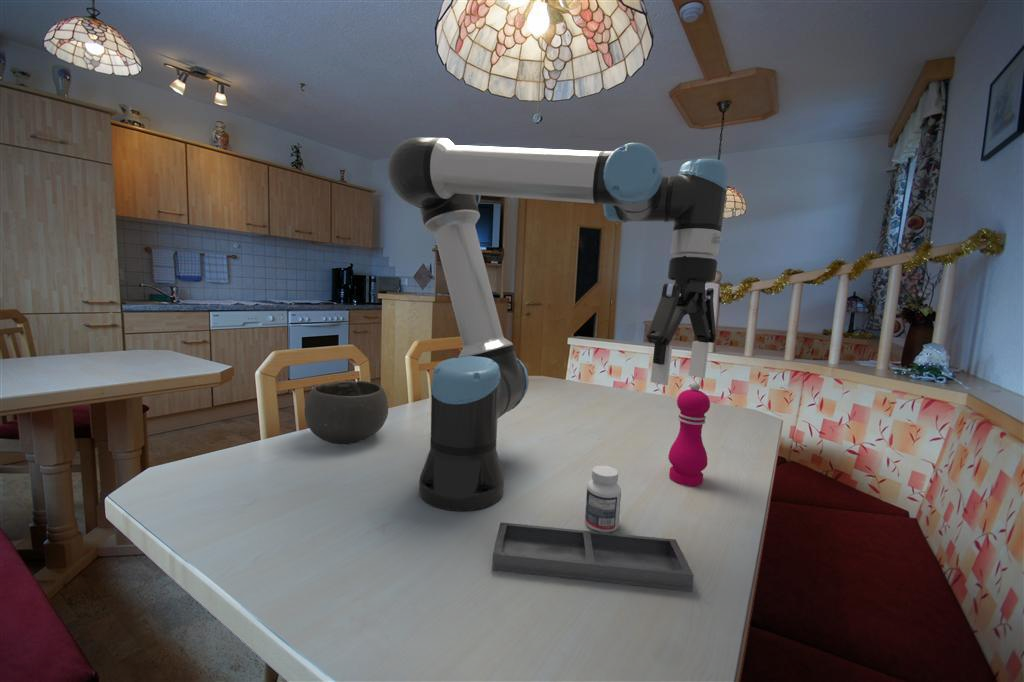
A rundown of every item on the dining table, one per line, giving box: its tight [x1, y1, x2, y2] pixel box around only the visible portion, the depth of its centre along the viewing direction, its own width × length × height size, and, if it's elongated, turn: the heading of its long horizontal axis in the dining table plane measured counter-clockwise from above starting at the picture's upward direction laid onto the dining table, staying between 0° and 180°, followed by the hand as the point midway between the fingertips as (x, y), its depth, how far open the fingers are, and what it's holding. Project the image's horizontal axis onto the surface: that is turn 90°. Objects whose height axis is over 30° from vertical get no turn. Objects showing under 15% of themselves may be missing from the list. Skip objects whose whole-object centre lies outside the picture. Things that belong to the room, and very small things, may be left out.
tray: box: [491, 521, 695, 592], centre depth 57 cm, size 25×8×2 cm, turn 84°
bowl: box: [304, 380, 389, 446], centre depth 97 cm, size 18×18×13 cm
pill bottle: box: [584, 465, 622, 533], centre depth 66 cm, size 5×5×9 cm
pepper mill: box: [668, 381, 711, 487], centre depth 83 cm, size 7×7×20 cm
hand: (678, 379), depth 74 cm, fingers open, 13 cm apart
